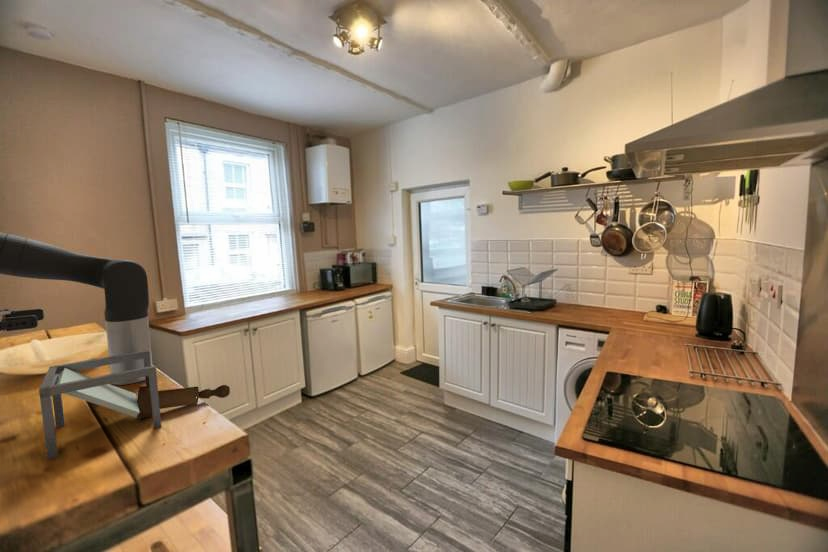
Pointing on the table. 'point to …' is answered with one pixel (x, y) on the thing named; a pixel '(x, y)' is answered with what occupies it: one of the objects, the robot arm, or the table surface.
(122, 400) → the trapdoor
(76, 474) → the table surface
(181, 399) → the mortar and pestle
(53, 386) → the frame
